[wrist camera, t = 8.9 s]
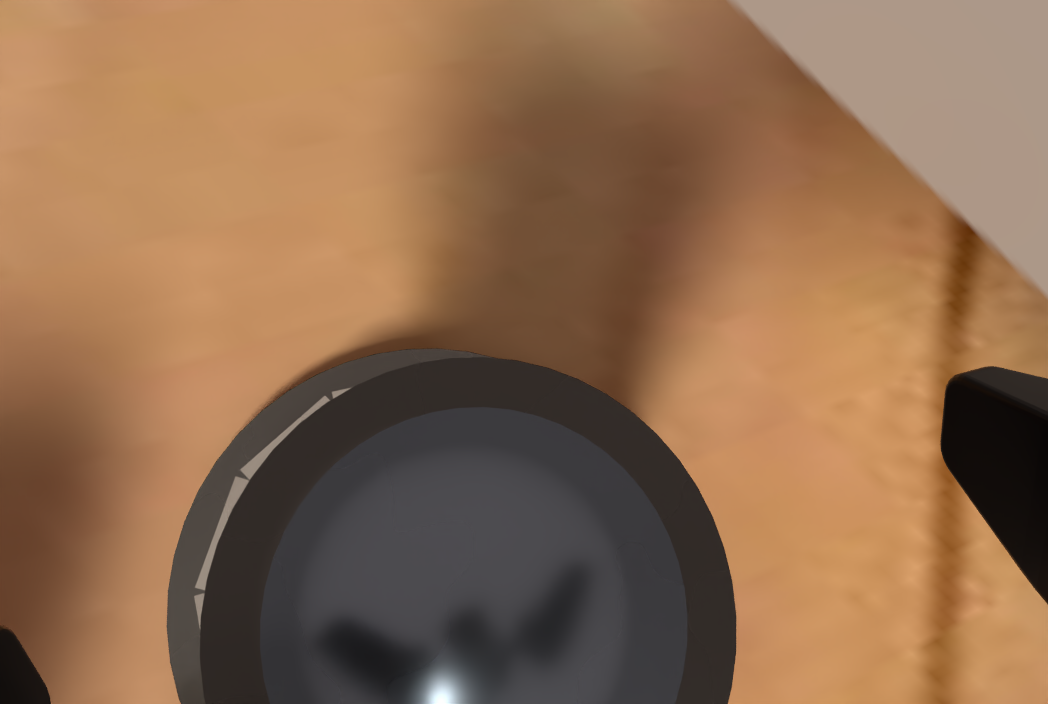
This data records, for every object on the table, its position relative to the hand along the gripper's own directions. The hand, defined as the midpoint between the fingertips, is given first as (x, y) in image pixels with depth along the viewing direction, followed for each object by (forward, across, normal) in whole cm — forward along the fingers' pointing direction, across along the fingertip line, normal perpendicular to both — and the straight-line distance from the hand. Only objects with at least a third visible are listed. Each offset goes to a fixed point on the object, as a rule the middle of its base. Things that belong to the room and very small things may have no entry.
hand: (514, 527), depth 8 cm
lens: (+9, +2, +9) cm, 13 cm away
